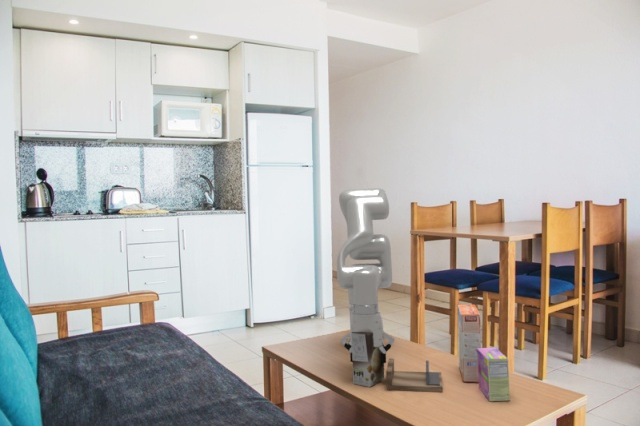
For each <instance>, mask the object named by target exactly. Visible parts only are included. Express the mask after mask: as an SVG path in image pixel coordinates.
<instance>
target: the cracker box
mask: <svg viewBox="0 0 640 426" xmlns="http://www.w3.org/2000/svg"><path fill="white" fill-rule="evenodd" d="M457 321H458V325H457V326H458V329H457V330H458V359H459V360H458V361H459V362H458V365H459V371H460V375H461V376H460V377H461V380H462V382H463V383H464V382H465V383H479V376H478V357H477V348H482V344H481V343H482V342H481V341H482V338H481V314H480V312H479V310H478V308H477V306H476V304H458V305H457Z"/></svg>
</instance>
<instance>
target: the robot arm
mask: <svg viewBox="0 0 640 426" xmlns="http://www.w3.org/2000/svg"><path fill="white" fill-rule="evenodd" d="M338 203H339V207H340V211H341V212H342V215H343V217H344V219H345V222H346V230H347V231H346V232H347V239H346V241H344V243H343V244H342V245H341V247H340V249H339V251H338V253H337V255H336V256H337V258H336V279H337V284H338V285H339V287H340V289H344V290H347V293H348V308H349V328H350V331H349V332H348V333H346V334H345V335H343V336H342V337H341V338H340V339H339V340H340V342H341V343H342V345H343V346H344V348H345V349H346V350H347V351H348V352H349V355H350V357H349V358H350V363H352V364H353V362H352V333H351V332H368V333H369V332H371V333H373V338H374V347H379V349H380V350H381V366H382V367H383V366H384V367H385V364H386V363H387V352H388V351H389V350H390V349H391V347H392V346H393V344H394V343H395V340H396V339H395V338H396V337H393V336H392V335H391V334H388V333H387V332H386V331H385V330H384V324H383V317H382V313H381V312H380V311H379V293H378V292H379V290H378V289H387V288H390V287H391V286H392V283H393V267H392V252H391V251H392V250H391V249H392V248H391V242H390V239H389V237H388V236H387V235H385V234H383V233H382V234H374V224H373V223H374V222H373V221H377V220H378V221H380V220H381V221H382V220H383V221H384V220H386V219H388V217H389V214H390V205H389V199H388V196H387V193H386V191H385V190H384V189H383V188H379V187H377V188H355V189H352V188H351V189H347V190H343V191H341V192H340V193H339V195H338ZM348 256H349V258H350V259H352V260H353V261H355V260H356V261H371V260H372V261H374V260H376V261H378V262H376V263H375V262H374V263H371V262H370V263H355V264H350V265H346V259H347V257H348ZM348 339H350V341H347V340H348ZM384 340H387V341H388V343H387V344H386V345H385V344H384Z"/></svg>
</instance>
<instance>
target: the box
mask: <svg viewBox="0 0 640 426" xmlns="http://www.w3.org/2000/svg"><path fill="white" fill-rule="evenodd" d="M477 357H478V376H479V382H478V388H479V389H480V391H481V392H482V393H483V395H484V396H485V397H486V398H487V400H488V401H489V402H508V401H510V377H509V375H510V374H509V373H510V372H509V371H510V370H509V369H510V368H509V358H508V357H507V356H506V355H505V354H503V352H501V351H500V350H499V349H498V348H497V347H481V348H477Z"/></svg>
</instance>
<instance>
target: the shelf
mask: <svg viewBox="0 0 640 426" xmlns="http://www.w3.org/2000/svg"><path fill="white" fill-rule="evenodd" d="M385 377H386V381H385V382H386V391H398V392H426V393H427V392H428V393H430V392H431V393H443V392H444V391H443V377H442V372H440V371H439V380H440V386H433V385H426V371H406V370H405V371H403V370H402V371H401V370H395V359H394V358H388V362H387V366H386V371H385Z"/></svg>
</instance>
